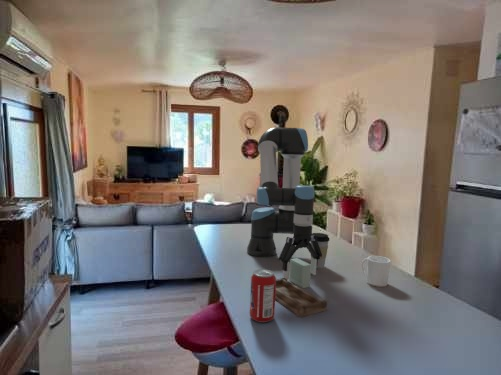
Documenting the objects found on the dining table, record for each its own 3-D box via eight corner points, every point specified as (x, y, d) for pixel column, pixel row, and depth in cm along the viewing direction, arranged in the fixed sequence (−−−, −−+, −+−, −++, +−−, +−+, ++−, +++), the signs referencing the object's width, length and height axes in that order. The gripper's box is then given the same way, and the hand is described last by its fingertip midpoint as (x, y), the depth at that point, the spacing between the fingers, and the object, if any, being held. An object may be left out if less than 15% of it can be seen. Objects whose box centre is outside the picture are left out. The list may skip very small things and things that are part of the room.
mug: (387, 281, 145) (389, 257, 144) (389, 289, 137) (391, 263, 135) (360, 277, 149) (362, 254, 147) (360, 284, 140) (361, 260, 139)
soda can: (266, 326, 104) (268, 279, 102) (244, 319, 108) (246, 273, 106) (278, 316, 111) (280, 271, 109) (257, 310, 115) (259, 266, 113)
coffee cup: (328, 270, 155) (330, 238, 154) (307, 268, 157) (308, 236, 156) (327, 264, 165) (329, 233, 163) (307, 262, 166) (309, 231, 165)
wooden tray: (261, 289, 131) (261, 282, 131) (284, 285, 137) (285, 277, 137) (300, 317, 111) (300, 308, 110) (326, 310, 116) (326, 301, 116)
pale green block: (289, 280, 142) (290, 259, 141) (295, 278, 144) (296, 258, 143) (302, 288, 134) (303, 265, 134) (309, 286, 136) (311, 264, 135)
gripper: (282, 228, 127) (279, 283, 129) (332, 224, 140) (329, 274, 142) (271, 224, 134) (268, 277, 136) (320, 220, 146) (317, 269, 148)
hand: (299, 276), depth 139 cm, fingers open, 13 cm apart
